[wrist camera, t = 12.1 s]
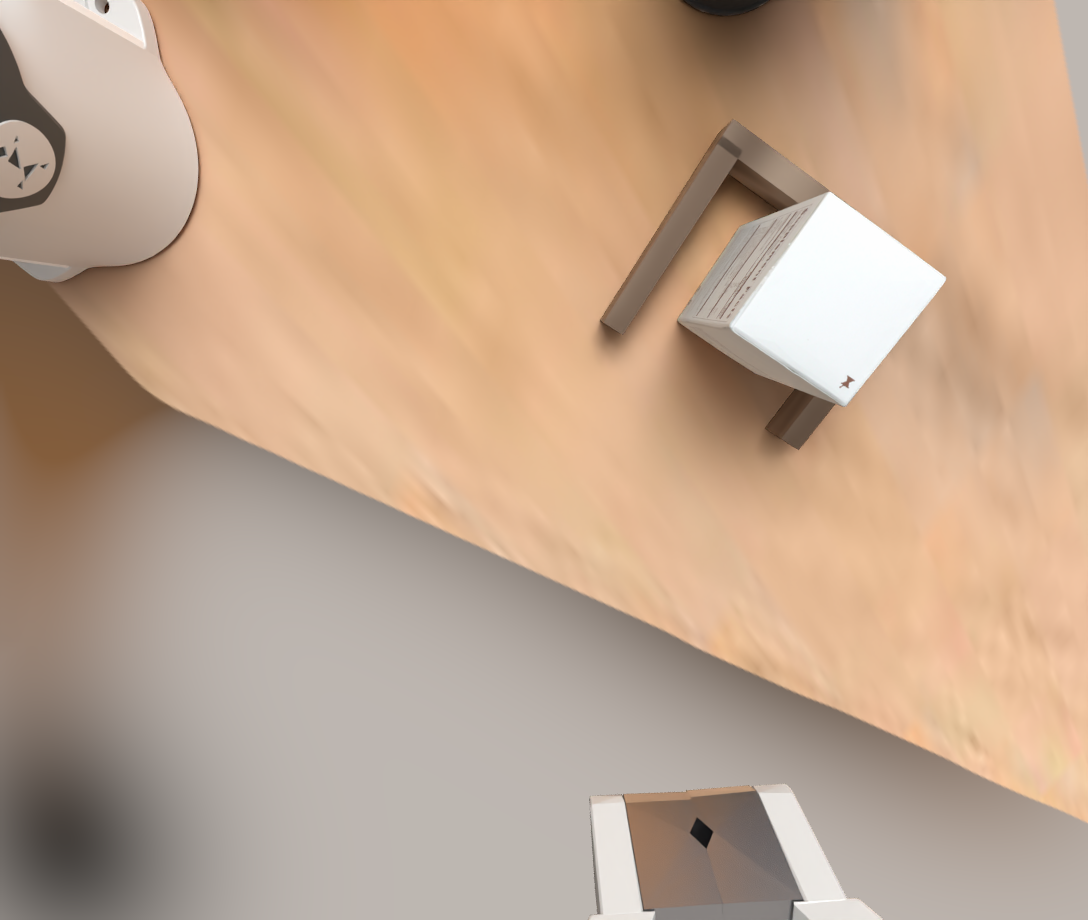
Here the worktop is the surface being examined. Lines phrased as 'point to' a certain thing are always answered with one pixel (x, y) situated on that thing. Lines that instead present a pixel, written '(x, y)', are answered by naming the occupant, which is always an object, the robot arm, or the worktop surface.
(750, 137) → the walnut corral
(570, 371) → the worktop surface
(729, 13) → the milk frother
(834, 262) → the supplement box
